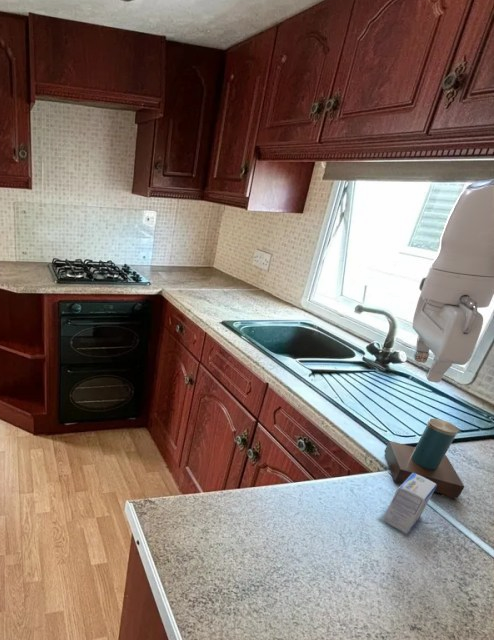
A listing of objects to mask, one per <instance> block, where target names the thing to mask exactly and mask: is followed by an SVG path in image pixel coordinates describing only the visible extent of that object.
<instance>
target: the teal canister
mask: <svg viewBox="0 0 494 640" xmlns="http://www.w3.org/2000/svg"><path fill="white" fill-rule="evenodd" d="M459 431H460V429H459V428H458V427H457V426H456V425H455V424H453V423H452V422H449V421H447V420H443V419H441V418H429V419H428V421H427V425H426V426H425V428H424V430H423V432H422V434H421V436H420V438H419V440H418V442H417V445H416V446H415V450H414V452H413V454H412V456H411V459H412V460H413V461H414V462H415V463H416V464H418V465H420V466H422V467H424V468H427V469H437V468H438V466H439V465H440V463H441V461H442V459H443V457H444V456H445V455H447V452H448V450H449V448H450V447H451V445H452V443H453V441H454V440H455V438H456V436H457V435H458V433H459Z"/></svg>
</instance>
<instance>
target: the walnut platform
mask: <svg viewBox="0 0 494 640" xmlns="http://www.w3.org/2000/svg"><path fill="white" fill-rule="evenodd" d="M415 448H416V446H411V445H407V444H403V443H399V442H397V441H391V440H388V443H387V445H386V446H385V449H384V458H385V461H386V463H387V466H388V469H389V472H390V475H391V478H392V480H393V483H395V484H398V485H402V484H403V483H404V482H405V481H406V480H407V478H408V477H409V476H410V475H411V474H412V473H415V474H418V475H420V476H422V477H424V478H426V479H428V480H430V481H432V482H434V483H436V484H437V487H436V489H435V490H434V492H433V493H438V494H440V495H441V497H445V498H449V499H452V500H455V499H459V497H460V495H461V494H462V492H463V490H464V488H465V485H464V483H463V481H462V480H461V478H460V476H459V475H458V473H457V471H456V470H455V468H454V466H453V464H452V463H451V461H450V460H449V458H448V456H447V454H445V456H444V457H443V459H442V461H441V463H440V465H439V466H438V468H437V469H427V468H424V467H422V466H420V465H418V464H416V463H415V462H414V461H413V460H412V459H411V456H412V454H413V452H414V450H415Z"/></svg>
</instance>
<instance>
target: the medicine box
mask: <svg viewBox="0 0 494 640" xmlns="http://www.w3.org/2000/svg"><path fill="white" fill-rule="evenodd" d="M436 487H437V484H436V483H434V482H432V481H430V480H428V479H426V478H424V477H422V476H420V475H418V474H415V473H412V474H411V475H410V476H409V477H408V478H407V480H406V481H405V482H404V483H403V484H400V486H399V487H398V488H397V489H396V492H395V493H394V496H393V498H392V500H391V501H390V503H389V506H388V507H387V510H386V512H385V513H384V516H383V518H382V521H384V522H385V523H387V524H388V525H390V526H392V527H393V528H396V529H397V530H399V531H401V532H402V533H404V534H406V535H407V534H408V533H410V531H411V530H412V528H413V527H414V525H415V524H416V522H417V521H418V520H419V518H420V517H421V516H422V513H423V512H424V510H425V509H426V507H427V505H428V503H429V501H430V500H431V497H432V495H434V493H435V492H434V490H435V489H436Z"/></svg>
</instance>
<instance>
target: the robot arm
mask: <svg viewBox="0 0 494 640" xmlns="http://www.w3.org/2000/svg"><path fill="white" fill-rule="evenodd" d="M439 246H440V247H439V249H438V253H437V255H436V257H435V258H434V260H433V261H432V263H431V264H430V267H429V269H428V272H427V275H426V276H423V277H422V278H421V280H420V283H419V287H418V289H419V291H420V294H419V296H418V300H417V304H416V307H415V311H414V315H413V319H412V329H413V330H414V331H415V333H416V334H417V338H416V346H415V352H414V354H413V359H414V361H415V362H417V363H422V364H425V363H427V361H428V358H429V357H430V352H431V353H432V354H433V355H434V357H433V359H432V360H433V362H432V364H431V366H430V367H428V368H427V371H426V373H425V378H426V380H427V381H428V382H431V383H437V384H438V383H441V381H442V379H443V376H444V374H445V373H446V372H448V370H449V369H450V368H451V367H452V366H453V365H460V366H464V365H466V364H467V363H468V362H469V361H470V360H471V358H472V356H473V354H474V351H475V349H476V345H477V344H478V340H479V338H480V335H481V331H482V329H483V325H484V317H483V315H482V314H481V313H480V312H479V311H478V309H481V308H482V309H483V308H487V307H489V306H490V304H491V302H492V300H493V297H494V177H493V178H486V179H480V180H477V181H475V182H472V183H471V184H469V185H467V186H466V187H465V188H464V189H463V190H462V192H461V193H460V195H459V196H458V198H457V200H456V201H455V203H454V205H453V207H452V209H451V211H450V214H449V215H448V218H447V220H446V223H445V226H444V229H443V231H442V234H441V236H440V242H439Z"/></svg>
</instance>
